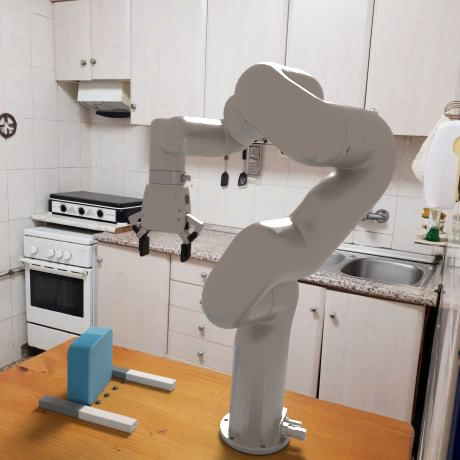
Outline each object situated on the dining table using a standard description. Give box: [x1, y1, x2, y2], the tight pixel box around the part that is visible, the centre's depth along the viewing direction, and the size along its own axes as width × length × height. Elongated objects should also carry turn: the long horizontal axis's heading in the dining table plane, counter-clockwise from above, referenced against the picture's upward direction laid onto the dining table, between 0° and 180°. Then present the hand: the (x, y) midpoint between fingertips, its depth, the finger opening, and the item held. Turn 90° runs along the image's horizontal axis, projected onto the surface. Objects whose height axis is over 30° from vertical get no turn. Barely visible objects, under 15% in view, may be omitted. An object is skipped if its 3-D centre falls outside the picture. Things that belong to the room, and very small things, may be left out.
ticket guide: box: [38, 364, 177, 434], centre depth 92 cm, size 20×18×2 cm
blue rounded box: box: [66, 326, 114, 406], centre depth 93 cm, size 12×4×12 cm, turn 173°
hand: (164, 258), depth 100 cm, fingers open, 9 cm apart
